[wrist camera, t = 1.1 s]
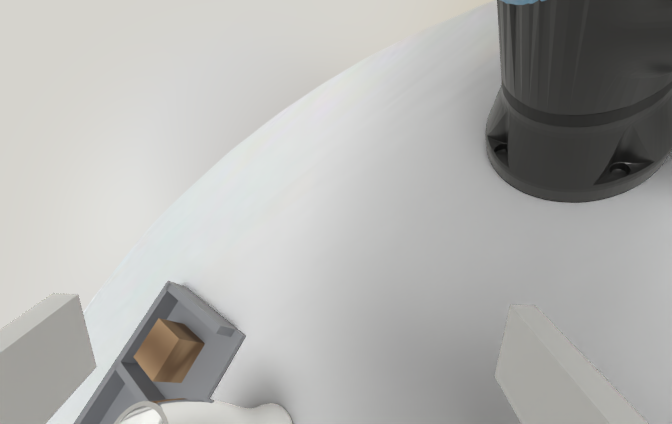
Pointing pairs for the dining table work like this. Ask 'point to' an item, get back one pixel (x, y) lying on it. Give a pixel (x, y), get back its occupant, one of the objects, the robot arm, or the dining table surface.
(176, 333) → the walnut block
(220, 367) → the tray
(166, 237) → the dining table surface
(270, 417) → the beer glass
